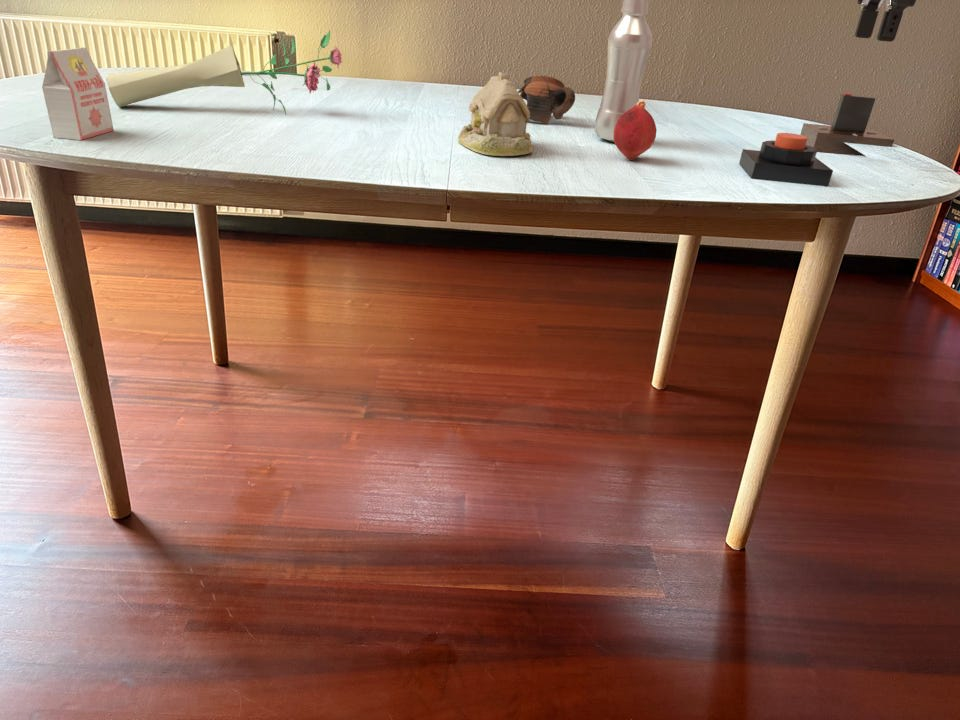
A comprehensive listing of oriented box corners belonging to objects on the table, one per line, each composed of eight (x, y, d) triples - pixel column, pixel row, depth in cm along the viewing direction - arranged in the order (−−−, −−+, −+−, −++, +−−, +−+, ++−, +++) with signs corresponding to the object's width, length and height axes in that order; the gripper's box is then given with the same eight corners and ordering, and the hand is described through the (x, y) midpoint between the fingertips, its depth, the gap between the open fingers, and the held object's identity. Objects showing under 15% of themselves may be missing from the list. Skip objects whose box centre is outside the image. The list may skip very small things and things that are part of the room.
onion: (628, 166, 94) (639, 104, 90) (601, 156, 98) (610, 97, 94) (659, 163, 97) (670, 103, 93) (631, 154, 101) (641, 96, 97)
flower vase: (143, 151, 112) (352, 107, 117) (121, 144, 101) (353, 96, 106) (118, 76, 110) (333, 34, 115) (92, 60, 98) (332, 14, 103)
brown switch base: (868, 147, 120) (874, 128, 118) (888, 158, 112) (895, 138, 110) (798, 140, 121) (803, 122, 119) (812, 151, 113) (818, 131, 111)
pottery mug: (501, 121, 120) (509, 75, 120) (531, 141, 128) (539, 98, 128) (558, 113, 113) (566, 64, 113) (587, 135, 120) (595, 89, 120)
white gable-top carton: (53, 137, 86) (33, 50, 81) (87, 127, 92) (71, 46, 87) (80, 140, 85) (62, 52, 80) (113, 130, 91) (98, 48, 86)
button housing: (809, 171, 99) (818, 143, 97) (828, 187, 91) (837, 156, 89) (738, 164, 100) (745, 136, 98) (751, 179, 92) (759, 148, 90)
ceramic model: (450, 135, 104) (453, 64, 99) (520, 137, 106) (526, 67, 102) (472, 157, 92) (477, 77, 87) (550, 158, 95) (559, 81, 90)
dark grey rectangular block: (861, 131, 115) (872, 95, 113) (864, 133, 114) (876, 96, 111) (830, 128, 116) (841, 92, 113) (833, 130, 114) (844, 93, 112)
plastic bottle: (599, 134, 113) (619, -2, 103) (639, 141, 110) (664, 1, 100) (587, 140, 107) (607, -3, 98) (629, 147, 105) (653, 1, 95)
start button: (800, 147, 95) (803, 134, 94) (807, 153, 92) (811, 139, 91) (770, 144, 95) (774, 131, 95) (777, 150, 92) (780, 137, 91)
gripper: (969, -97, 86) (921, 44, 94) (919, -86, 98) (880, 38, 106) (907, -101, 86) (864, 40, 94) (865, -89, 99) (830, 34, 107)
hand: (873, 39), depth 100 cm, fingers open, 8 cm apart
